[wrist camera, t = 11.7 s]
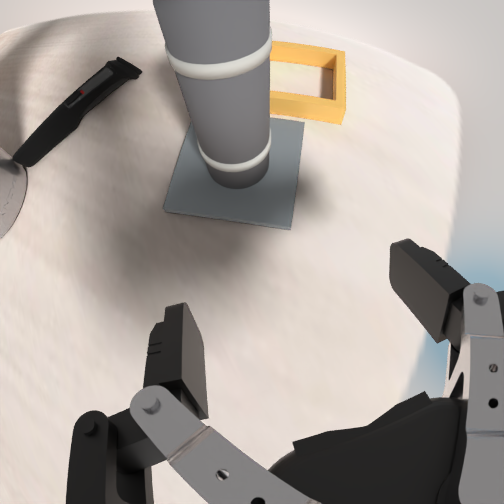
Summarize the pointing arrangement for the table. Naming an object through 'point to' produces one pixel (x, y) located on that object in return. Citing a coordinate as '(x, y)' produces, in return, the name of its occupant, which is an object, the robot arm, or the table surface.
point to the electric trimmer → (74, 110)
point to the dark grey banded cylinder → (223, 81)
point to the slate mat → (247, 199)
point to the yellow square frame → (303, 103)
